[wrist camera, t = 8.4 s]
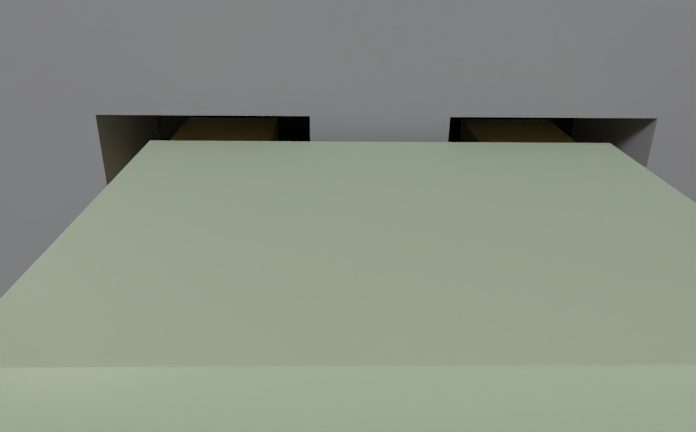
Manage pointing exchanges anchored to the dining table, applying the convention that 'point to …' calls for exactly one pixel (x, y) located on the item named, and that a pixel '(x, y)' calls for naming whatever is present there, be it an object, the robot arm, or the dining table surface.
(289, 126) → the dining table surface
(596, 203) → the plug
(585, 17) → the socket plate
